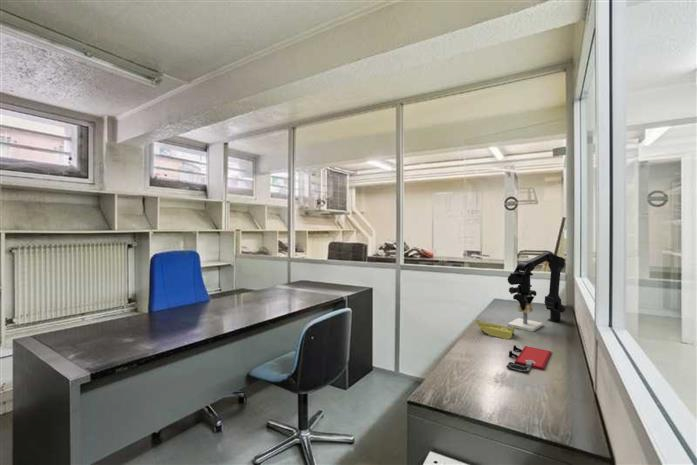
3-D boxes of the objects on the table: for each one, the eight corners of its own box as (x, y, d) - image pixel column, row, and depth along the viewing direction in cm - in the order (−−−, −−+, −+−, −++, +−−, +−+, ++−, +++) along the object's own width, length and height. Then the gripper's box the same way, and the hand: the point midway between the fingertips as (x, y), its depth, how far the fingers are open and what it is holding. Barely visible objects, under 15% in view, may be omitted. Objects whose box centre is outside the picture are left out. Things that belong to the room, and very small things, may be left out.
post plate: (518, 320, 209) (518, 307, 209) (542, 325, 199) (542, 311, 198) (507, 326, 200) (507, 312, 199) (532, 331, 189) (532, 317, 189)
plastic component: (515, 329, 188) (513, 326, 180) (513, 342, 186) (511, 340, 178) (478, 321, 199) (474, 318, 191) (476, 333, 197) (472, 330, 189)
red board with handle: (501, 368, 146) (540, 377, 137) (501, 361, 146) (540, 371, 137) (517, 347, 170) (551, 354, 160) (517, 341, 170) (551, 348, 160)
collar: (522, 309, 203) (522, 302, 203) (532, 311, 198) (532, 304, 198) (517, 311, 199) (517, 304, 199) (528, 313, 195) (528, 306, 194)
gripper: (517, 279, 210) (517, 303, 211) (504, 284, 198) (504, 310, 199) (536, 281, 202) (536, 307, 202) (523, 286, 190) (524, 313, 190)
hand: (525, 309), depth 199 cm, fingers closed on collar, 6 cm apart
